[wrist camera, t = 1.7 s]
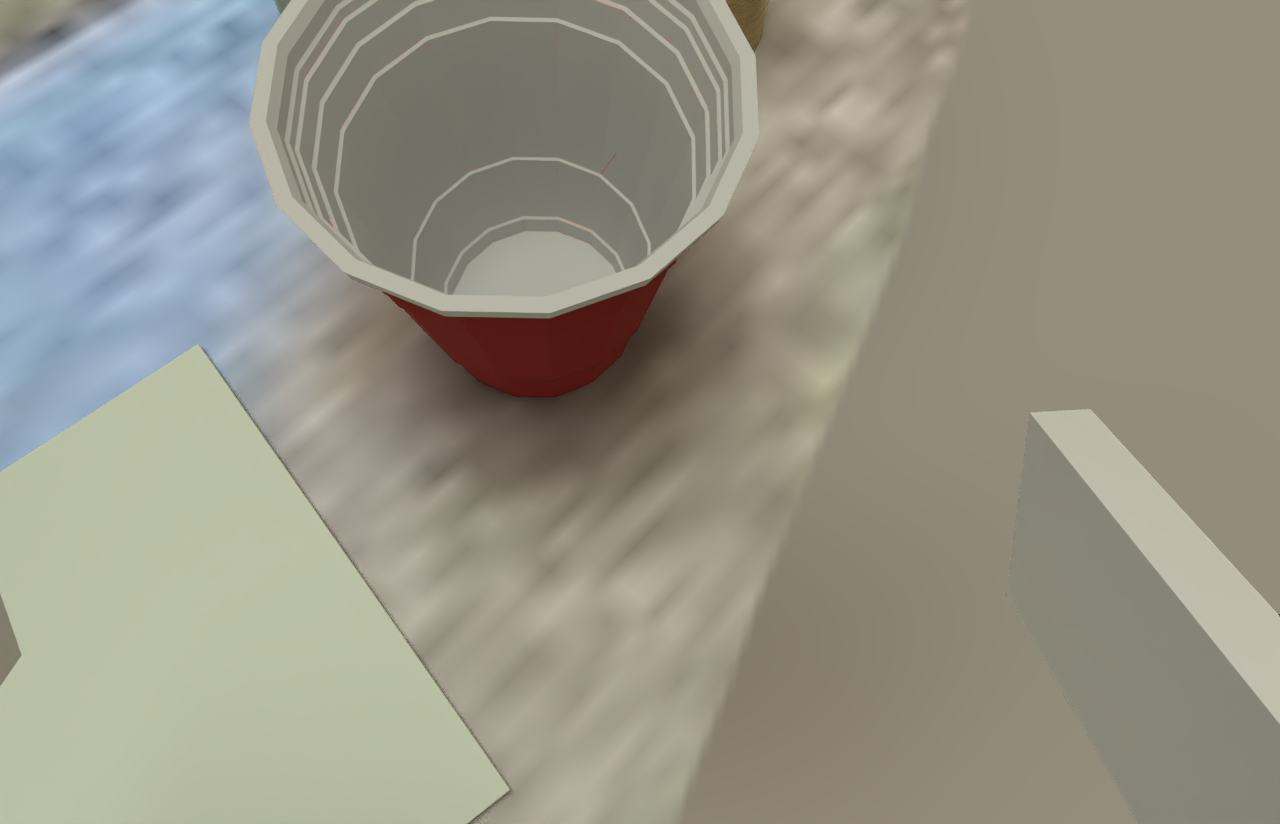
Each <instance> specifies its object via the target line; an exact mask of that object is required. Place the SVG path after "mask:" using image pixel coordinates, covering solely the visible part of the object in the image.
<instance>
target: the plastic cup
mask: <svg viewBox="0 0 1280 824" xmlns="http://www.w3.org/2000/svg"><path fill="white" fill-rule="evenodd" d="M249 126H250V129H251V132H252V135H253V138H254V141H255V144H256V147H257V150H258V153H259V156H260V159H261V161H262V164H263V167H264V170H265V173H266V176H267V179H268V182H269V185H270V188H271V191H272V194H273V197H274V200H275V202H276V205H277V207H279V208H280V209H281V210H282V211H283V212H284V213H285V214H286V215H287V216H288V217H289V218H290V219H291V220H292V221H293V222H294V223H295V224H296V225H297V226H298V227H299V228H300V229H301V230H302V231H303V232H304V233H305V234H306V235H307V236H308V237H309V238H310V239H311V240H312V241H313V242H314V243H315V244H316V245H317V246H318V247H319V248H320V249H321V250H322V251H323V252H324V253H325V254H326V255H327V256H328V257H329V258H330V259H331V260H332V261H333V262H334V263H335V264H336V265H337V266H338V267H339V268H340V269H341V270H342V271H343V272H344V273H345V274H347V275H348V276H349V277H350V278H351V279H353V280H355V281H358V282H360V283H363V284H365V285H368V286H370V287H373V288H375V289H378V290H380V291H382V292H383V293H384V294H386V295H388V296H389V297H390V298H391V299H392V300H393V301H394V302H395V303H396V304H397V305H398V306H399V307H400V308H403V309H404V310H405V311H406V312H407V313H408V314H409V315H410V316H411V317H412V318H413V319H414V320H415V322H416V323H417V324H418V325H419V326H420V327H421V328H422V329H423V330H424V331H425V332H426V333H427V334H428V335H429V336H430V337H431V338H432V339H433V340H434V341H435V342H436V343H437V344H438V345H439V346H440V347H441V348H442V349H443V350H444V351H445V352H446V353H447V354H448V355H449V356H450V357H451V358H452V359H453V360H454V361H455V362H456V363H459V364H461V365H463V366H464V367H465V368H466V369H467V370H468V371H469V372H470V373H471V374H472V375H473V376H474V377H475V378H476V379H477V380H478V381H480V382H482V383H485V384H487V385H490V386H492V387H494V388H497V389H499V390H502V391H504V392H507V393H509V394H512V395H514V396H527V397H556V396H558V395H561V394H564V393H566V392H569V391H572V390H574V389H577V388H579V387H582V386H585V385H587V384H589V383H591V382H593V381H594V380H595V379H596V378H597V377H598V376H599V375H601V374H602V373H603V372H604V371H605V370H606V369H607V368H608V367H609V366H610V365H611V364H613V363H614V362H615V361H616V360H617V359H618V358H619V357H620V356H621V355H622V353H623V350H624V348H625V346H626V344H627V342H628V340H629V338H630V337H631V336H632V335H633V334H634V333H635V332H636V331H637V329H638V327H639V325H640V323H641V321H642V319H643V317H644V315H645V313H646V311H647V309H648V307H649V306H650V304H651V302H652V300H653V298H654V296H655V294H656V292H657V290H658V288H659V286H660V284H661V282H662V280H663V278H664V276H665V274H666V272H667V270H668V269H669V268H670V267H671V266H672V265H673V264H675V262H676V260H677V258H678V257H679V256H680V255H681V254H682V253H684V252H685V251H686V250H687V249H688V248H689V247H690V246H692V245H693V244H694V243H695V242H696V241H697V240H699V239H700V238H701V237H702V236H703V235H704V234H705V233H707V232H708V231H709V230H710V229H711V228H712V227H714V226H715V225H716V224H717V223H718V221H719V220H720V219H721V218H722V217H723V215H724V213H725V211H726V209H727V206H728V204H729V202H730V200H731V198H732V195H733V193H734V191H735V189H736V187H737V185H738V182H739V180H740V178H741V176H742V174H743V171H744V169H745V167H746V165H747V163H748V160H749V158H750V156H751V154H752V152H753V149H754V147H755V145H756V143H757V141H758V138H759V119H758V97H757V75H756V56H755V54H754V52H753V50H752V48H751V46H750V45H749V43H748V41H747V39H746V37H745V36H744V34H743V32H742V30H741V28H740V26H739V25H738V23H737V21H736V19H735V17H734V16H733V14H732V12H731V10H730V8H729V6H728V5H727V3H726V1H725V0H291V1H290V2H289V4H288V5H287V7H286V8H285V10H284V11H283V13H282V14H281V15H280V17H279V18H278V20H277V21H276V23H275V24H274V26H273V27H272V28H271V30H270V31H269V33H268V34H267V36H266V37H265V39H264V40H263V41H262V45H261V51H260V57H259V63H258V70H257V76H256V82H255V88H254V94H253V101H252V107H251V113H250V119H249Z"/></svg>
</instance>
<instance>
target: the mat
mask: <svg viewBox="0 0 1280 824" xmlns="http://www.w3.org/2000/svg"><path fill="white" fill-rule="evenodd" d="M0 594H1V597H2V600H3V603H4V606H5V608H6V611H7V614H8V617H9V620H10V623H11V626H12V629H13V632H14V634H15V637H16V640H17V643H18V646H19V649H20V652H21V657H20V658H19V660H18V661H17V663H16V664H15V666H14V667H13V668H12V670H11V671H10V673H9V674H8V676H7V677H6V679H5V680H4V682H3V683H2V685H1V686H0V824H468V823H469V822H471V821H472V820H473V819H474V818H476V817H477V816H478V815H480V814H481V813H482V812H483V811H485V810H486V809H487V808H488V807H490V806H491V805H492V804H494V803H495V802H496V801H497V800H499V799H500V798H501V797H502V796H504V795H505V794H506V793H507V792H509V791H510V790H511V789H510V787H509V786H508V784H507V783H506V781H505V780H504V778H503V777H502V776H501V774H500V773H499V771H498V770H497V768H496V767H495V766H494V764H493V763H492V761H491V760H490V758H489V757H488V756H487V754H486V753H485V751H484V750H483V748H482V747H481V746H480V744H479V743H478V741H477V740H476V738H475V737H474V736H473V734H472V733H471V731H470V730H469V728H468V727H467V726H466V724H465V723H464V721H463V720H462V718H461V717H460V716H459V714H458V713H457V711H456V710H455V708H454V707H453V706H452V704H451V703H450V701H449V700H448V698H447V697H446V696H445V694H444V693H443V691H442V690H441V688H440V687H439V686H438V684H437V683H436V681H435V680H434V678H433V677H432V676H431V674H430V673H429V671H428V670H427V668H426V667H425V666H424V664H423V663H422V661H421V660H420V658H419V657H418V656H417V654H416V653H415V651H414V650H413V648H412V647H411V646H410V644H409V643H408V641H407V640H406V638H405V637H404V636H403V634H402V633H401V631H400V630H399V628H398V627H397V626H396V624H395V623H394V621H393V620H392V618H391V617H390V616H389V614H388V613H387V611H386V610H385V608H384V607H383V605H382V604H381V603H380V601H379V600H378V598H377V597H376V595H375V594H374V593H373V591H372V590H371V588H370V587H369V585H368V584H367V583H366V581H365V580H364V578H363V577H362V575H361V574H360V573H359V571H358V570H357V568H356V567H355V565H354V564H353V563H352V561H351V560H350V558H349V557H348V555H347V554H346V553H345V551H344V550H343V548H342V547H341V545H340V544H339V543H338V541H337V540H336V538H335V537H334V535H333V534H332V533H331V531H330V530H329V528H328V527H327V525H326V524H325V523H324V521H323V520H322V518H321V517H320V515H319V514H318V513H317V511H316V510H315V508H314V507H313V505H312V504H311V503H310V501H309V500H308V498H307V497H306V495H305V494H304V493H303V491H302V490H301V488H300V487H299V485H298V484H297V483H296V481H295V480H294V478H293V477H292V475H291V474H290V473H289V471H288V470H287V468H286V467H285V465H284V464H283V463H282V461H281V460H280V458H279V457H278V455H277V454H276V453H275V451H274V450H273V448H272V447H271V445H270V444H269V443H268V441H267V440H266V438H265V437H264V435H263V434H262V432H261V431H260V430H259V428H258V427H257V425H256V424H255V422H254V421H253V420H252V418H251V417H250V415H249V414H248V412H247V411H246V410H245V408H244V407H243V405H242V404H241V402H240V401H239V400H238V398H237V397H236V395H235V394H234V392H233V391H232V390H231V388H230V387H229V385H228V384H227V382H226V381H225V380H224V378H223V377H222V375H221V374H220V372H219V371H218V370H217V368H216V367H215V365H214V364H213V362H212V361H211V360H210V358H209V357H208V355H207V354H206V352H205V351H204V350H203V348H202V347H201V346H200V345H199V344H197V345H195V346H194V347H192V348H191V349H189V350H187V351H186V352H184V353H183V354H181V355H180V356H178V357H177V358H175V359H173V360H172V361H170V362H169V363H167V364H166V365H164V366H163V367H161V368H160V369H158V370H156V371H155V372H153V373H152V374H150V375H149V376H147V377H146V378H144V379H143V380H141V381H139V382H138V383H136V384H135V385H133V386H132V387H130V388H129V389H127V390H125V391H124V392H122V393H121V394H119V395H118V396H116V397H115V398H113V399H112V400H110V401H108V402H107V403H105V404H104V405H102V406H101V407H99V408H98V409H96V410H95V411H93V412H91V413H90V414H88V415H87V416H85V417H84V418H82V419H81V420H79V421H77V422H76V423H74V424H73V425H71V426H70V427H68V428H67V429H65V430H64V431H62V432H60V433H59V434H57V435H56V436H54V437H53V438H51V439H50V440H48V441H46V442H45V443H43V444H42V445H40V446H39V447H37V448H36V449H34V450H33V451H31V452H29V453H28V454H26V455H25V456H23V457H22V458H20V459H19V460H17V461H16V462H14V463H12V464H11V465H9V466H8V467H6V468H5V469H3V470H2V471H0Z"/></svg>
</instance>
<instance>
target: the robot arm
mask: <svg viewBox="0 0 1280 824" xmlns="http://www.w3.org/2000/svg"><path fill="white" fill-rule="evenodd" d="M1006 596H1007V597H1008V599H1009V601H1010V602H1011V604H1012V606H1013V608H1014V609H1015V611H1016V613H1017V614H1018V616H1019V618H1020V620H1021V621H1022V623H1023V625H1024V626H1025V628H1026V630H1027V632H1028V634H1029V635H1030V637H1031V639H1032V641H1033V642H1034V644H1035V646H1036V648H1037V649H1038V651H1039V653H1040V654H1041V656H1042V658H1043V660H1044V661H1045V663H1046V665H1047V666H1048V668H1049V670H1050V672H1051V674H1052V675H1053V677H1054V679H1055V680H1056V682H1057V684H1058V686H1059V687H1060V689H1061V691H1062V693H1063V694H1064V696H1065V698H1066V699H1067V701H1068V703H1069V705H1070V706H1071V708H1072V710H1073V711H1074V713H1075V715H1076V717H1077V719H1078V720H1079V722H1080V724H1081V725H1082V727H1083V729H1084V731H1085V732H1086V734H1087V736H1088V738H1089V739H1090V741H1091V743H1092V745H1093V746H1094V748H1095V750H1096V752H1097V753H1098V755H1099V757H1100V758H1101V760H1102V762H1103V764H1104V765H1105V767H1106V769H1107V771H1108V772H1109V774H1110V776H1111V778H1112V779H1113V781H1114V783H1115V785H1116V786H1117V788H1118V790H1119V791H1120V793H1121V795H1122V797H1123V798H1124V800H1125V802H1126V803H1127V805H1128V807H1129V809H1130V811H1131V812H1132V814H1133V816H1134V817H1135V819H1136V821H1137V823H1138V824H1280V614H1279V615H1278V614H1277V613H1276V612H1275V611H1274V610H1273V608H1271V606H1270V605H1269V604H1268V603H1267V602H1266V601H1265V600H1264V599H1263V598H1262V596H1261V595H1260V594H1259V593H1258V592H1257V591H1256V590H1255V589H1254V588H1253V587H1252V585H1251V584H1250V583H1249V582H1248V581H1247V580H1246V579H1245V578H1244V577H1243V576H1242V575H1241V573H1240V572H1239V571H1238V570H1237V569H1236V568H1235V567H1234V566H1233V565H1232V564H1231V562H1230V561H1229V560H1228V559H1227V558H1226V557H1225V556H1224V555H1223V554H1222V553H1221V552H1220V550H1219V549H1218V548H1217V547H1216V546H1215V545H1214V544H1213V543H1212V542H1211V541H1210V539H1209V538H1208V537H1207V536H1206V535H1205V534H1204V533H1203V532H1202V531H1201V530H1200V529H1199V527H1198V526H1197V525H1196V524H1195V523H1194V522H1193V521H1192V520H1191V519H1190V518H1189V517H1188V515H1187V514H1186V513H1185V512H1184V511H1183V510H1182V509H1181V508H1180V507H1179V506H1178V504H1177V503H1176V502H1175V501H1174V500H1173V499H1172V498H1171V497H1170V496H1169V495H1168V494H1167V493H1166V491H1165V490H1164V489H1163V488H1162V487H1161V486H1160V485H1159V484H1158V483H1157V482H1156V480H1155V479H1154V478H1153V477H1152V476H1151V475H1150V474H1149V473H1148V472H1147V471H1146V470H1145V468H1143V466H1142V465H1141V464H1140V463H1139V462H1138V461H1137V460H1136V459H1135V458H1134V456H1132V454H1131V453H1130V452H1129V451H1128V450H1127V449H1126V448H1125V447H1124V446H1123V444H1122V443H1121V442H1120V441H1119V440H1118V439H1117V438H1116V437H1115V436H1114V435H1113V433H1112V432H1111V431H1110V430H1109V429H1108V428H1107V427H1106V426H1105V425H1104V424H1103V423H1102V421H1101V420H1100V419H1099V418H1098V417H1097V416H1096V415H1095V414H1094V413H1093V412H1092V410H1091V409H1084V410H1066V411H1049V412H1032V413H1030V415H1029V421H1028V429H1027V437H1026V445H1025V453H1024V460H1023V468H1022V475H1021V483H1020V491H1019V499H1018V507H1017V514H1016V522H1015V531H1014V537H1013V545H1012V553H1011V561H1010V569H1009V576H1008V584H1007V592H1006ZM20 657H21V652H20V649H19V646H18V643H17V640H16V637H15V634H14V632H13V629H12V626H11V623H10V620H9V617H8V614H7V611H6V608H5V606H4V603H3V600H2V597H1V594H0V686H1V685H2V683H3V682H4V680H5V679H6V677H7V676H8V674H9V673H10V671H11V670H12V668H13V667H14V666H15V664H16V663H17V661H18V660H19V658H20Z"/></svg>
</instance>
